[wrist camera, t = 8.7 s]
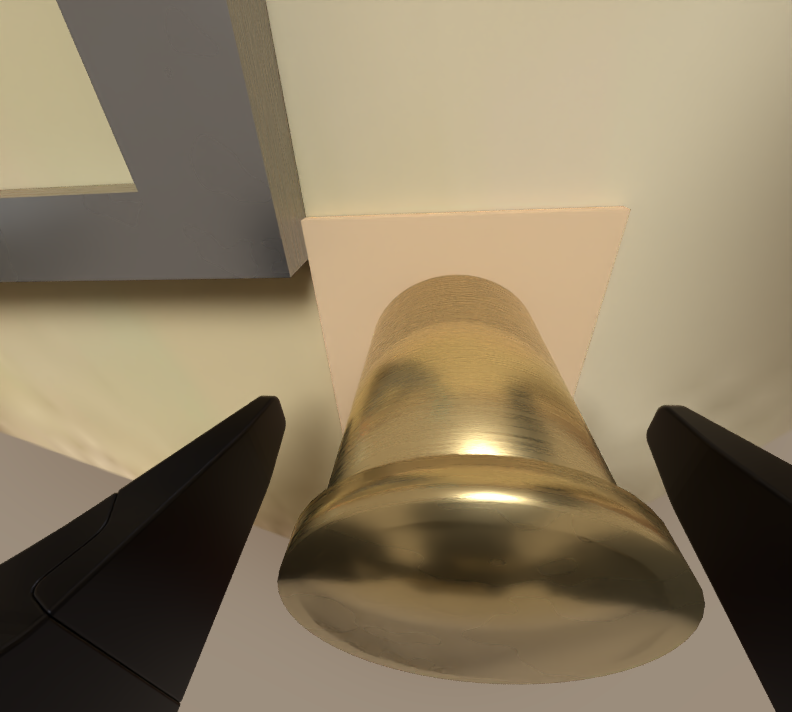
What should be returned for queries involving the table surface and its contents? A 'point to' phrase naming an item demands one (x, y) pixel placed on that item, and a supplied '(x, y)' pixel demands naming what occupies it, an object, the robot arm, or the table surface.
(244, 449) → the robot arm
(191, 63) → the grey flat rectangular frame
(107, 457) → the table surface
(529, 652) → the brass flared knob
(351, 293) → the pad
